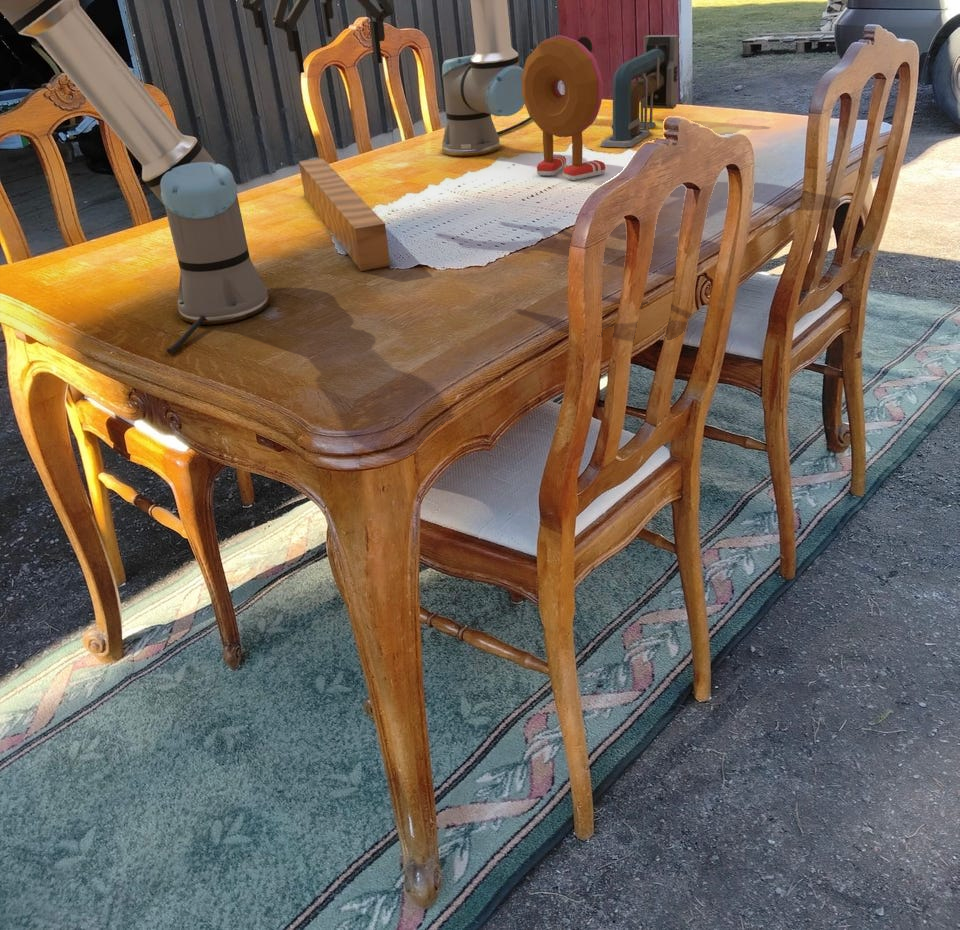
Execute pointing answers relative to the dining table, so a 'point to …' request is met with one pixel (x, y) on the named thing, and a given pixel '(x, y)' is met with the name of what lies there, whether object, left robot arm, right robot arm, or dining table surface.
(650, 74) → the dark grey bent pipe
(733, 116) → the dining table surface
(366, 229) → the post
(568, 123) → the toy
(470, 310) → the dining table surface
